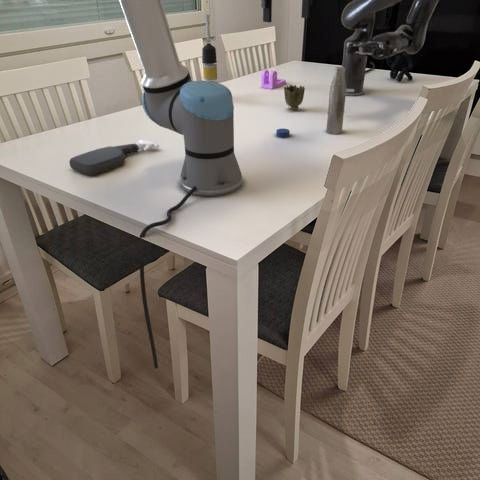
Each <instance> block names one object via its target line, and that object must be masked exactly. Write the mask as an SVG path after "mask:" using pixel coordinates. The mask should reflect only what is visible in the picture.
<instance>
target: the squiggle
mask: <svg viewBox="0 0 480 480" xmlns="http://www.w3.org/2000/svg"><path fill="white" fill-rule="evenodd" d="M401 57H402V59H401ZM391 59H392V60H391ZM393 60H394V61H393ZM385 61H386V64H387V67H390V68H391V70H390V72H389V78H390V79H391V80H395V79H396V81H397V82H399V83H400V82H402V81H403V79H404V76H406V78H407V80H408V81H412V80H413V79H414V77H413V75H412V74H411V73H410V72H409V71H410V70H412V69H413V68H414V64H413V61H412V57H411V54H409V53H407V52H406V51H403V53H402V54H401V55H397V54H395V55H393V56H390V57H387V58H385ZM406 62H407V65H408V66H407V67H405V66H404V65H405V64H406ZM400 70H401V71H400Z"/></svg>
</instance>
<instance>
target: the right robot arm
mask: <svg viewBox="0 0 480 480" xmlns="http://www.w3.org/2000/svg"><path fill="white" fill-rule="evenodd" d="M401 1H402V0H352V1H350V2H349V3H347V4H346V5H345V7H344V9H343V11H342V13H341V17H340V18H341V24H342V26H344V28H346V29H349V30H354V32H353V34H352V35H351V36H349V37H347V38H346V39H345V40H344V42H343V53H342V54H343V55H342V64H341V67H345V68H346V69H345V80H346V96H351V97H353V96H355V97H356V96H361V95H362V94H364V84H365V76H366V73H369V72H371V71H372V70H374V69H375V68H376V65H375V64H374V62H373V61H370V62H369V66H372V67H371V68H368V69H366V68H367V63H368V62H367V61H368V56H371V57H372V58H373V59H375V60H384V59H386V58H387V57H390V56H393V55H397V54H400V53H402V52H403V53H404V52H407V53H409V54H410V55H415V54H418V52H419V51H420V50H421V49H422V48H423V46H424V43H425V40H426V35H427V29H428V24H429V21H430V19H431V18H432V15H433V13H434V11H435V9H436V7H437V4H438V2H439V1H440V0H413V2H412V5H411V7H410V10H409V11H408V15H407V17H406V24H402V25H400V26H399V27H398V28H397V30H395V31H389V32H384V33H379V34H376V35H375V36H373V32H374V31H373V30H374V25H375V20H376V13H377V12H379V11H382V10H386V9H387V8H390V7H392V6H394V5H397V4H398V3H399V2H401ZM390 58H391V57H390Z"/></svg>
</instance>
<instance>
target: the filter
mask: <svg viewBox="0 0 480 480" xmlns="http://www.w3.org/2000/svg"><path fill="white" fill-rule="evenodd" d="M210 17H211V14H204V18H205V27H206V29H205V30H206V31H205V33H206V39H207V40H206V42H207V43H206V45H204V46H202V49H201V50H202V51H201V52H202V54H201V55H202V57H201V58H202V61H201V63H202V71H203V72H202V73H203V74H202V75H203V81H208V82H216V83H219V82H218V81H216V80H218V64H216V63H218V61H217V48H216V47H215V46H214V45H212V43H210V42H211V40H210V39H211V31H210V29H211V28H210Z"/></svg>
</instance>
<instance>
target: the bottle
mask: <svg viewBox="0 0 480 480" xmlns="http://www.w3.org/2000/svg"><path fill="white" fill-rule="evenodd" d="M345 69H346V68H345V67H342V66H336V67H334V76H333V78H332V81H331V85H330V88H329V98H328V107H327V118H326V133H327V134H330V135H339V134H342V133H343V127H344V126H343V125H344V117H345V108H346V107H345V106H346V96H347V95H346V80H345Z"/></svg>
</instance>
